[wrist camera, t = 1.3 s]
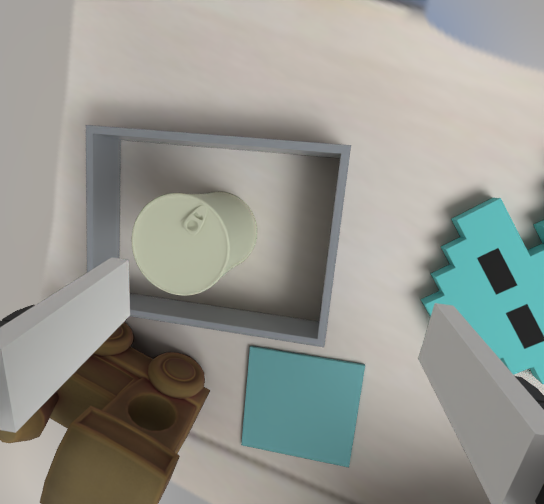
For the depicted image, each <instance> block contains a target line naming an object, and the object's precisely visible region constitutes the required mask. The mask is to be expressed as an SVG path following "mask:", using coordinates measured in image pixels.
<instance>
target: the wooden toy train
mask: <svg viewBox="0 0 544 504" xmlns="http://www.w3.org/2000/svg"><path fill="white" fill-rule="evenodd" d="M132 343H133V333H132V330H131V328H130V327H129V326H128V325H127V324H126V323H125V322H123V323H122V324H121V325H120V326H119V327H118V328H117V329H116V330H115V331H114V332H113V334H112V335H111V336H110V337H109V338H108V339H107V340H106V341H105V342H104V343H103V344H102V345H101V346H100V347H99V348H98V349H97V350H96V351H95V352H94V353H93V354H92V355H91V356H90V357H89V358H88V359H87V360H86V361H85V362H84V363H83V364H82V365H81V366H80V367H79V368H78V369H77V370H76V371H75V372H74V373H73V375H72V376H71V377H70V378H69V379H68V380H67V381H66V382H65V383H64V384H63V385H62V386H61V387H60V388H59V389H58V390H57V391H56V392H55V393H54V394H53V395H52V396H51V397H50V398H49V399H48V400H47V401H46V402H45V403H44V404H43V405H42V406H41V407H40V408H39V409H38V410H37V411H36V412H35V413H34V414H33V416H32V417H31V418H30V419H29V420H28V421H27V422H26V423H25V424H24V425H23V426H22V427H21V428H20V429H19V430H18V431H17V432H16V433H15V432H9V431H3V430H0V440H1V441H2V442H6V443H13V442H21V441H27V440H32V439H34V438H37V437H39V436H40V435H41V433H42V431H43V429H44V428H45V426H46V424H47V422H48V420H49V418H51V419H53V420H54V421H56V422H58V423H59V424H61V425H63V426H64V427H66V428H68V429H67V431H66V433H65V435H64V437H63V439H62V441H61V443H60V445H59V447H58V449H57V451H56V454H55V456H54V459H53V461H52V464H51V466H50V469H49V472H48V474H47V477H46V479H45V482H44V487H43V491H42V495H41V499H40V503H41V504H158V503H159V501H160V499H161V497H162V495H163V493H164V491H165V489H166V487H167V485H168V483H169V481H170V479H171V476H172V474H173V471H174V469H175V466H176V464H177V461H178V459H179V457H180V456H179V455H178V454H177V453H178V452H179V450H180V448H181V446H182V445H183V443H184V441H185V439H186V438H187V436H188V434H189V432H190V430H191V428H192V426H193V424H194V422H195V420H196V418H197V416H198V414H199V412H200V410H201V408H202V406H203V404H204V402H205V400H206V398H207V396H208V394H209V392H210V390H208V389H207V388H205V387H203V386H204V383H205V378H204V372H203V370H202V368H201V366H200V365H199V364H198V363H197V362H196V361H195V360H193V359H192V358H191V357H189V356H186V355H184V354H181V353H176V352H168V353H164V354H160V355H159V356H157V357H155V358H154V359H152V358H150V357H148V356H146V355H145V354H143V353H141V352H139V351H137V350H135V349H134V348H132V347H130V345H131V344H132Z"/></svg>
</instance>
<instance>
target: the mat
mask: <svg viewBox="0 0 544 504" xmlns="http://www.w3.org/2000/svg"><path fill="white" fill-rule="evenodd" d="M364 369H365V364H359V363H353V362H347V361H341V360H335V359H329V358H322V357H316V356H310V355H304V354H298V353H292V352H286V351H280V350H274V349H268V348H262V347H256V346H250V353H249V365H248V376H247V387H246V399H245V410H244V421H243V433H242V444H241V445H243V446H248V447H253V448H258V449H262V450H267V451H272V452H277V453H282V454H287V455H291V456H296V457H301V458H306V459H311V460H315V461H320V462H325V463H330V464H335V465H340V466H344V467H349V464H350V457H351V451H352V445H353V439H354V432H355V426H356V420H357V413H358V407H359V401H360V394H361V388H362V382H363V376H364Z"/></svg>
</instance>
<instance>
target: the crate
mask: <svg viewBox="0 0 544 504" xmlns="http://www.w3.org/2000/svg"><path fill="white" fill-rule="evenodd" d="M121 140H125V141H137V142H150V143H162V144H174V145H186V146H198V147H210V148H222V149H234V150H247V151H259V152H271V153H283V154H295V155H307V156H319V157H331V158H340V160H339V168H338V176H337V184H336V192H335V200H334V208H333V215H332V223H331V231H330V239H329V247H328V255H327V262H326V270H325V278H324V286H323V294H322V302H321V309H320V317H319V322H318V321H312V320H305V319H298V318H292V317H285V316H278V315H272V314H265V313H258V312H252V311H245V310H238V309H232V308H225V307H218V306H212V305H205V304H198V303H192V302H185V301H178V300H172V299H165V298H158V297H152V296H145V295H138V294H132V293H130V316H132V317H138V318H144V319H150V320H157V321H163V322H169V323H175V324H182V325H188V326H194V327H200V328H207V329H213V330H219V331H225V332H232V333H238V334H244V335H250V336H257V337H263V338H269V339H275V340H282V341H288V342H294V343H300V344H307V345H313V346H319V347H324V346H325V338H326V331H327V323H328V315H329V308H330V300H331V293H332V285H333V278H334V270H335V263H336V255H337V248H338V240H339V233H340V225H341V217H342V210H343V202H344V195H345V187H346V180H347V172H348V165H349V157H350V150H351V145H340V144H327V143H314V142H301V141H288V140H275V139H262V138H249V137H236V136H223V135H210V134H197V133H184V132H171V131H158V130H145V129H132V128H119V127H106V126H93V125H86V203H87V273H88V272H89V271H91V270H92V269H94V268H96V267H97V266H99V265H100V264H102V263H103V262H105V261H107V260H108V259H110V258H111V257H112V258H119V250H120V146H121Z"/></svg>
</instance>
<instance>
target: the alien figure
mask: <svg viewBox="0 0 544 504" xmlns="http://www.w3.org/2000/svg"><path fill="white" fill-rule="evenodd" d="M451 220H452V222H453V224H454V225H455V227H456V229H457V231H458V233H459V235H460V237H459V238H457V239H455V240H453V241H451V242H449V243H447V244H445V245H443V246H441V248H442V250H443V252H444V254H445V256H446V258H447V260H448V262H449V263H450V264H449V265H447V266H445V267H443V268H441V269H439V270H437V271H435V272H433V273H430V274H431V275H432V277H433V279H434V281H435V283H436V285H437V287H438V288H439V290H440V291H438V292H436V293H434V294H431V295H429V296H427V297H425V298H423V299H421V301H422V303H423V305H424V306H425V308H426V310H427V312H428V314H429V316H430V317H431V314H432V311H433V307H434V304H435V303H438V304H445V305H452V306H454V307H455V308H456V309H457V310H458V311H459V313H460V314H461V315H462V316H463V317H464V318H465V320H466V321H467V322H468V323H469V324H470V325H471V326H472V328H473V329H474V330H475V331H476V332H477V333H478V335H479V336H480V337H481V338H482V339H483V340H484V341H485V343H486V344H487V345H488V346H489V347H490V348H491V350H492V351H493V352H494V353H495V354H496V355H497V356H498V358H499V359H500V360H501V361H502V362H503V363H504V365H505V366H506V367H507V368H508V369H509V370H510V371H511V373H512V374H516V373H519V372H521V371H524V370H526V369H529V368H530V370H531V372H532V374H533V376H534V377H535V378H536V379H537V380H539V381H540V382H541V383H542V384H544V220H542V221H540V222H538V223H536V224H534V227H535V229H536V231H537V233H538V235H539V237H540V239H541V241H542V244H540V245H538V246H536V247H533V248H531V249H529V250H527V249H526V247H525V245H524V243H523V241H522V239H521V237H520V235H519V233H518V231H517V229H516V227H515V225H514V223H513V221H512V219H511V217H510V216H509V214H508V212H507V210H506V208H505V206H504V204H503V202H502V200H501V198H491V199H489V200H487V201H485V202H483V203H481V204H479V205H477V206H475V207H474V208H472V209H470V210H468V211H466V212H464V213H462V214H460V215H458V216H456V217H454V218H452V219H451Z"/></svg>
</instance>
